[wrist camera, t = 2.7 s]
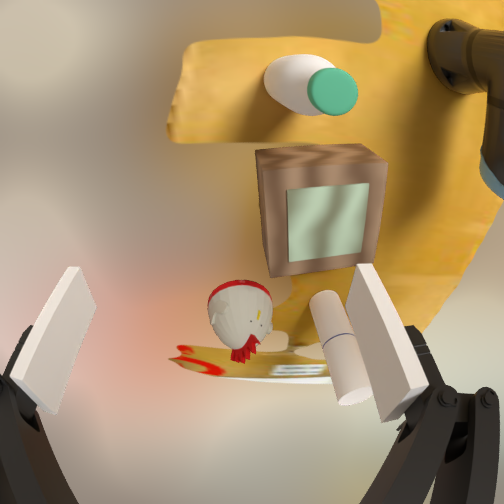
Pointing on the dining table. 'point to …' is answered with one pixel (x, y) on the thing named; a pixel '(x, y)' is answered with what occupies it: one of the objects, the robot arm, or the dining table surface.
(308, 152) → the walnut stand
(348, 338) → the cylindrical container
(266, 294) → the kitchen timer
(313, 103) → the milk bottle
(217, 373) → the dining table surface
